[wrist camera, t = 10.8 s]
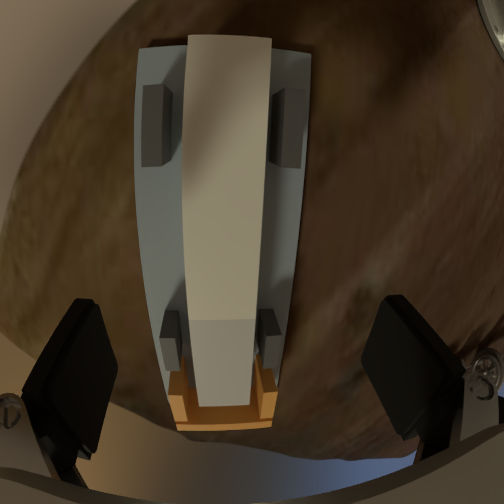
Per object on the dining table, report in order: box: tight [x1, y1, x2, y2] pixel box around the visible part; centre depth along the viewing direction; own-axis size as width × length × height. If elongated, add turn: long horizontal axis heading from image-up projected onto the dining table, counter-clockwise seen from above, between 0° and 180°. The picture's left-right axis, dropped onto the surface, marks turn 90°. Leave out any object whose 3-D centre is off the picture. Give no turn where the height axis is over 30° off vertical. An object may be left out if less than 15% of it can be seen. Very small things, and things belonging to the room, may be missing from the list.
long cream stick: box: [182, 35, 272, 406], centre depth 16 cm, size 22×4×4 cm, turn 177°
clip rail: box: [134, 45, 311, 431], centre depth 17 cm, size 28×10×5 cm, turn 177°
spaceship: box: [461, 348, 504, 391], centre depth 28 cm, size 8×35×8 cm
